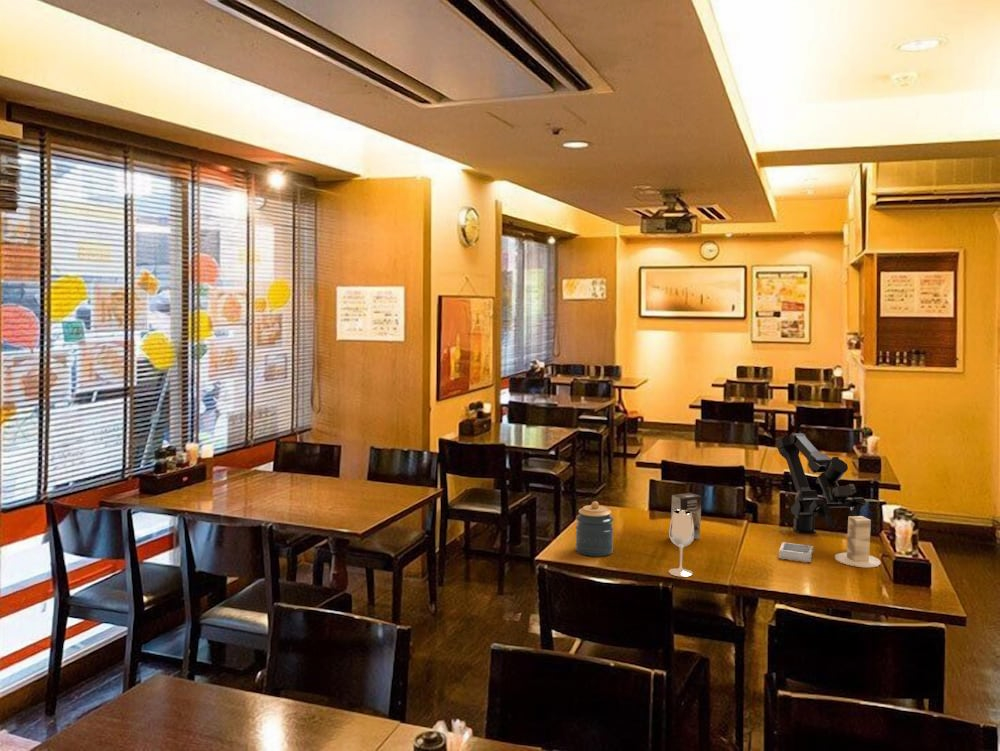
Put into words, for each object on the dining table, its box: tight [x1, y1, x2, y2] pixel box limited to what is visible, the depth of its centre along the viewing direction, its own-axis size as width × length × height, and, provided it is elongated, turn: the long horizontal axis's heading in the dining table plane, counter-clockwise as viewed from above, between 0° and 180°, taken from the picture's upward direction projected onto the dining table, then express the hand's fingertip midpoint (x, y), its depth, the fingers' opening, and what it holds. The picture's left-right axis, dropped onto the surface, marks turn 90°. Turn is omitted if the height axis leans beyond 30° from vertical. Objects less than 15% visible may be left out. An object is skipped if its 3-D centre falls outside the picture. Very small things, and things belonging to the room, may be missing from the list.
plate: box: [834, 551, 882, 569], centre depth 268 cm, size 14×14×1 cm
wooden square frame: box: [778, 541, 814, 563], centre depth 272 cm, size 10×10×3 cm
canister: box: [575, 500, 615, 557], centre depth 276 cm, size 13×13×18 cm
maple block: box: [846, 515, 872, 562], centre depth 267 cm, size 5×5×14 cm
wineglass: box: [668, 510, 694, 578], centre depth 254 cm, size 8×8×20 cm
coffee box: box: [670, 492, 702, 541], centre depth 292 cm, size 9×6×16 cm
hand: (846, 526), depth 274 cm, fingers open, 9 cm apart
